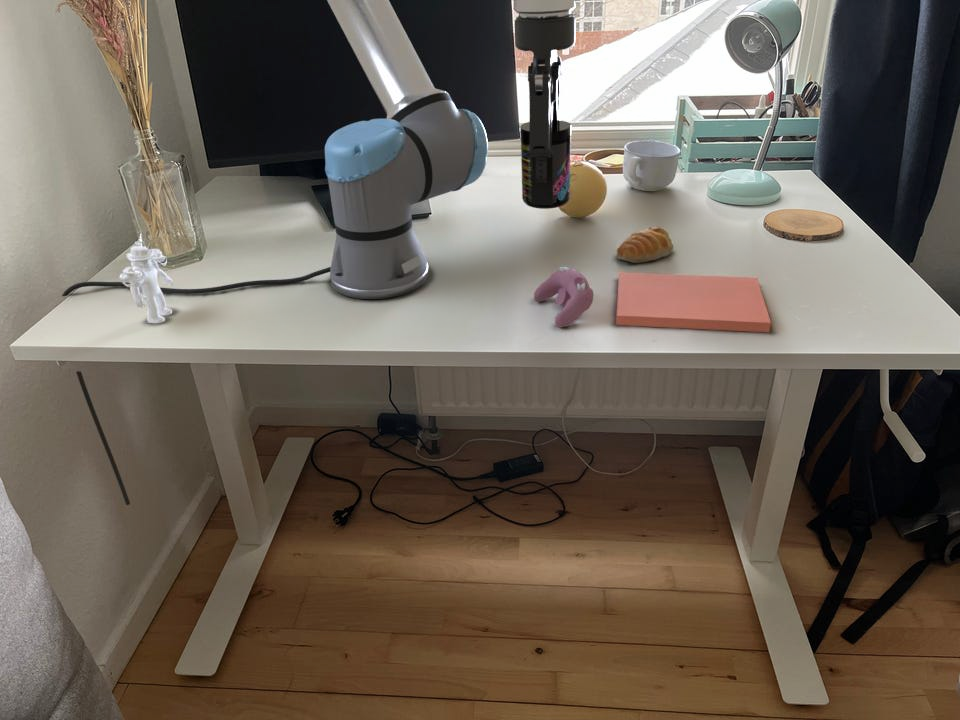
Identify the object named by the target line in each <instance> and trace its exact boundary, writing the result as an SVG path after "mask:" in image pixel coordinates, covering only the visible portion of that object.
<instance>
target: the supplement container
mask: <svg viewBox="0 0 960 720" xmlns="http://www.w3.org/2000/svg"><path fill="white" fill-rule="evenodd" d="M519 128H520V131H519V132H520V133H519V134H520V139H519V140H520V160H521V161H520V162H521V198H522V199H521V200H522V201H523V203H524V204H525V205H526V206H528V207H530V208H533V209H541V210H546V209H547V210H549V209H556V208H557V209H558V207H560V206H563V205H565V204H566V203H567V202H568V201H569V199H570V167H571V163H572V162H571V156H572V153H571V152H572V146H571V145H572V124H571V123H570V122H568V121H566V120H561V119H560V120H552V148H551V150H552V155H553V205H533V202H532V157H526V152H529V149H530V121H528V122H523V123H522V124H520V127H519ZM539 147H544V146H539Z"/></svg>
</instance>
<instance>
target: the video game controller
mask: <svg viewBox="0 0 960 720" xmlns="http://www.w3.org/2000/svg"><path fill="white" fill-rule="evenodd" d="M555 295H556V305H558V306H561V307H562V309H561V310H560V311H559V312H558V313H557V314H556V316H555V318H554V324H555V326H556V327H558V328H564V327H567V326H570V325H572V324H574V323H575V322H576V321H577V320H578V319H579V318H580V317H581V316H583V314H584V313H585V312H586V311H587V310H589V309H590V307H591V306H592V303H593V301H594V295H595V294H594V290H593V288H592V287H590V283H589V281H588V279H587V278H586V276H585V275H584V274H583V273H582V272H580V270H576V269H574V268H572V267H563V266H560V267H559V269H556V270H554V272H552V274H550V276H549V277H547V279H546V280H544V281H543V282H542V283H541V284H539V286H538V287H536V288H535V290H534V293H533V299H534V300H535V301H536V302H539V303H541V302H545V301H547V300H549V299H551V298H553V297H554V296H555Z"/></svg>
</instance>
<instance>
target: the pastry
mask: <svg viewBox="0 0 960 720" xmlns="http://www.w3.org/2000/svg"><path fill="white" fill-rule="evenodd" d="M674 248H675V246H674V244H673V239H672V238H671V236H670V235H669V232H668V230H666V229H664V228H662V227H661V226H656V227H652V226H649V227H648V228H647V229H644V230H643V229H642V230H640V231H636V232H635V231H634V232H633V233H631V234H630V236H629V237H627V238H626V239H625V240H624V241H623V242H622V243H620V245H619V246H618V247H617V250H616V252H617V259H620V260H622V261H625V262H629V263H632V264H633V263H634V264H641V263H643V262H651V261H656V260H659V259H661V258H665V257H667V256H669V255H670V254H671V253H672V252H673V251H674Z"/></svg>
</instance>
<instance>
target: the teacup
mask: <svg viewBox="0 0 960 720" xmlns="http://www.w3.org/2000/svg"><path fill="white" fill-rule="evenodd" d="M623 149H624V152H623V161H622V175H623V178H624V180H625V181H626V182H627V183H628V184H629V185H630V186H631V187H632V188H633V189H635V190H638V191H643V192H658V191H661V190H663V189H665V188H666V187H668V186H669V185H671V184H672V182H673V181H674V180H675V177H676V174H677V170H678V165H679V159H680V154H681V149H680V148H679V146H677V145H674V144H671V143H668V142H665V141H659V140H634V141H630V142H628V143H626V144H625V145H624V146H623Z"/></svg>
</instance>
